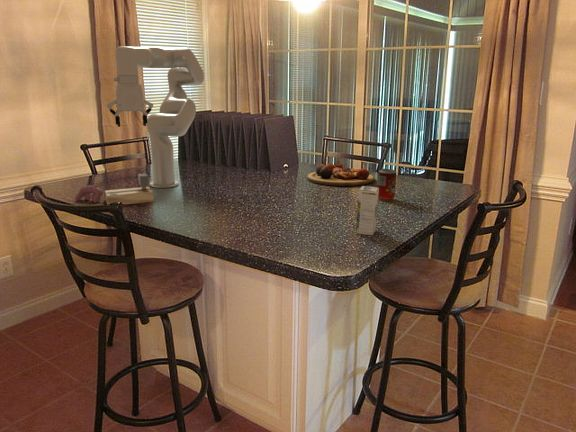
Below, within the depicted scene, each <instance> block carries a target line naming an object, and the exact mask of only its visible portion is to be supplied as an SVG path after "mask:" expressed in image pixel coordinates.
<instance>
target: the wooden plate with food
mask: <svg viewBox="0 0 576 432" xmlns="http://www.w3.org/2000/svg"><path fill="white" fill-rule="evenodd" d="M306 179H307V180H308V182H310V183H311V182H312V183H314V184H317V185H325V186H334V187H335V186H336V187H353V186H365V185H367V184H371V183H373V182H374V180H375V177H374V175H373V174H371V173H370V172H369V171H368V169H366V168H358V169H353V168H350V167H348V166H344V167H343V164H342V163H341V162H339V161H337V162H335V164H333V163H327V164H323V163H320V164H319V165H318V166H317V167H316V169H315V171H314V172H310V173H309V174H307V176H306Z"/></svg>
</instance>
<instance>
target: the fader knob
mask: <svg viewBox="0 0 576 432" xmlns="http://www.w3.org/2000/svg"><path fill="white" fill-rule="evenodd" d="M137 179H138V185H139V186H140V187H141V188H142V189H146V187H150V183H149V175H148V174H147V173H138V174H137Z"/></svg>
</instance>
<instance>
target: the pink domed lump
mask: <svg viewBox="0 0 576 432" xmlns="http://www.w3.org/2000/svg"><path fill="white" fill-rule="evenodd" d="M91 194H92V195H91ZM103 194H104V191H103V189H102V188H100V187H98V186H95V185H85V186H82V187H81V188H79V191H78V193H77V194H76V196H75V201H76V202H79V201H81V200H82V199H83V198H84V200H87V201H89V200H90V199H91V200H92V201H93V203H94V204H96V203H98V202H99V201H100V200H101V198H102V196H103Z"/></svg>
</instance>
